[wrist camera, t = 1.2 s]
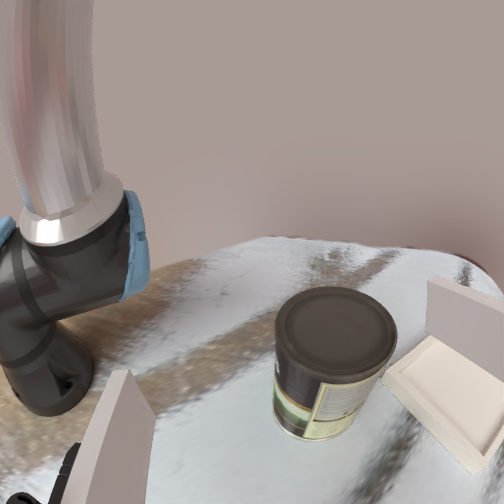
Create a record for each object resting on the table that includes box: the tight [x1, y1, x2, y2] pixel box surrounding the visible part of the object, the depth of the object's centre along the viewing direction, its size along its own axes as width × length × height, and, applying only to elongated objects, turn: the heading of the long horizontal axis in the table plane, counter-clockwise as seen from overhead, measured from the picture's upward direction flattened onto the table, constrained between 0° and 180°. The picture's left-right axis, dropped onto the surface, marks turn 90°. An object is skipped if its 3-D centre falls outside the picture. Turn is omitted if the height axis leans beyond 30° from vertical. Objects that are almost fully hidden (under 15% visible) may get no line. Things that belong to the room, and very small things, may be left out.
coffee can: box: [272, 287, 397, 442], centre depth 24 cm, size 10×10×14 cm
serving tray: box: [380, 335, 504, 475], centre depth 25 cm, size 20×20×2 cm
